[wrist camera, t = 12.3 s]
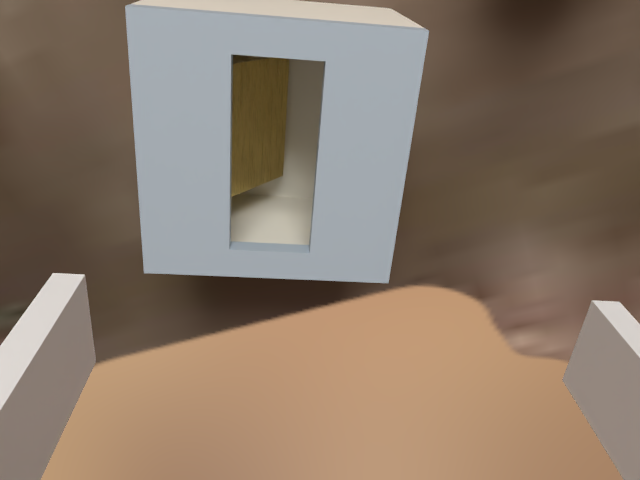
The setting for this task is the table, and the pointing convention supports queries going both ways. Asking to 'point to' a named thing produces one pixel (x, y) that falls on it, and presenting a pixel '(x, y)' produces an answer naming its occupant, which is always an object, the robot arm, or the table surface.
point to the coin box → (300, 137)
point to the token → (258, 120)
